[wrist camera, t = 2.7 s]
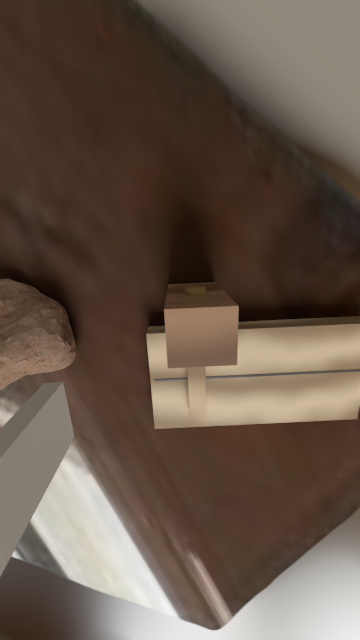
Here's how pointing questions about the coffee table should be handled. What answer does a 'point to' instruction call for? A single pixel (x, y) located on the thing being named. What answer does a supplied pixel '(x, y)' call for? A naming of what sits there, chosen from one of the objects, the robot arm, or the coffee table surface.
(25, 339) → the stone
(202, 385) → the block
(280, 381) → the board
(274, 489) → the coffee table surface
